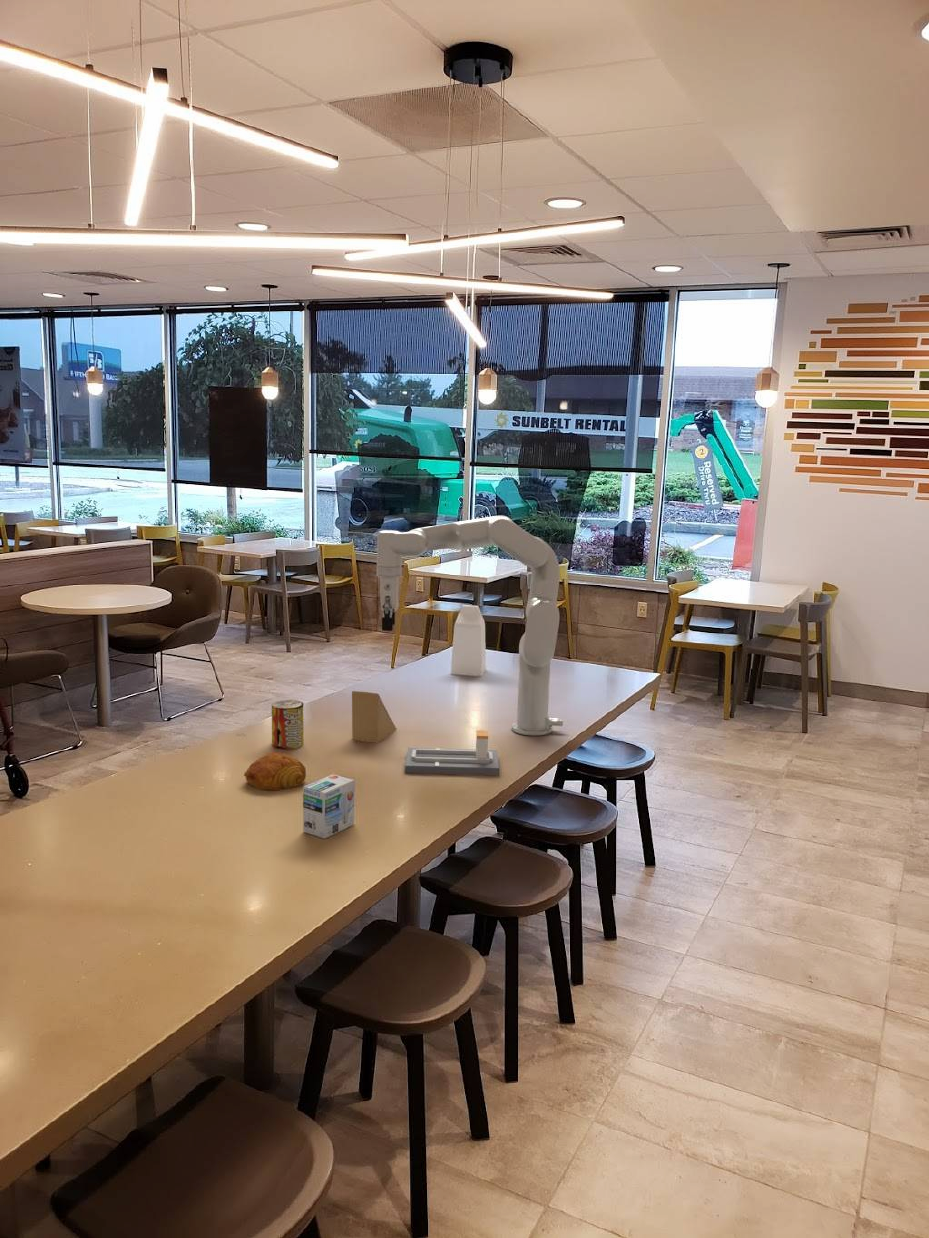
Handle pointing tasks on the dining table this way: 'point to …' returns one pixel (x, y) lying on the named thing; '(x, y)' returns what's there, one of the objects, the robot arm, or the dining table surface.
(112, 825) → the dining table surface
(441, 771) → the board
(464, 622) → the white tall block
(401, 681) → the dining table surface
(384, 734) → the sandwich container
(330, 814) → the light bulb box
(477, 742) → the fader knob
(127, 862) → the dining table surface
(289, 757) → the croissant
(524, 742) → the dining table surface
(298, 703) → the beverage can
